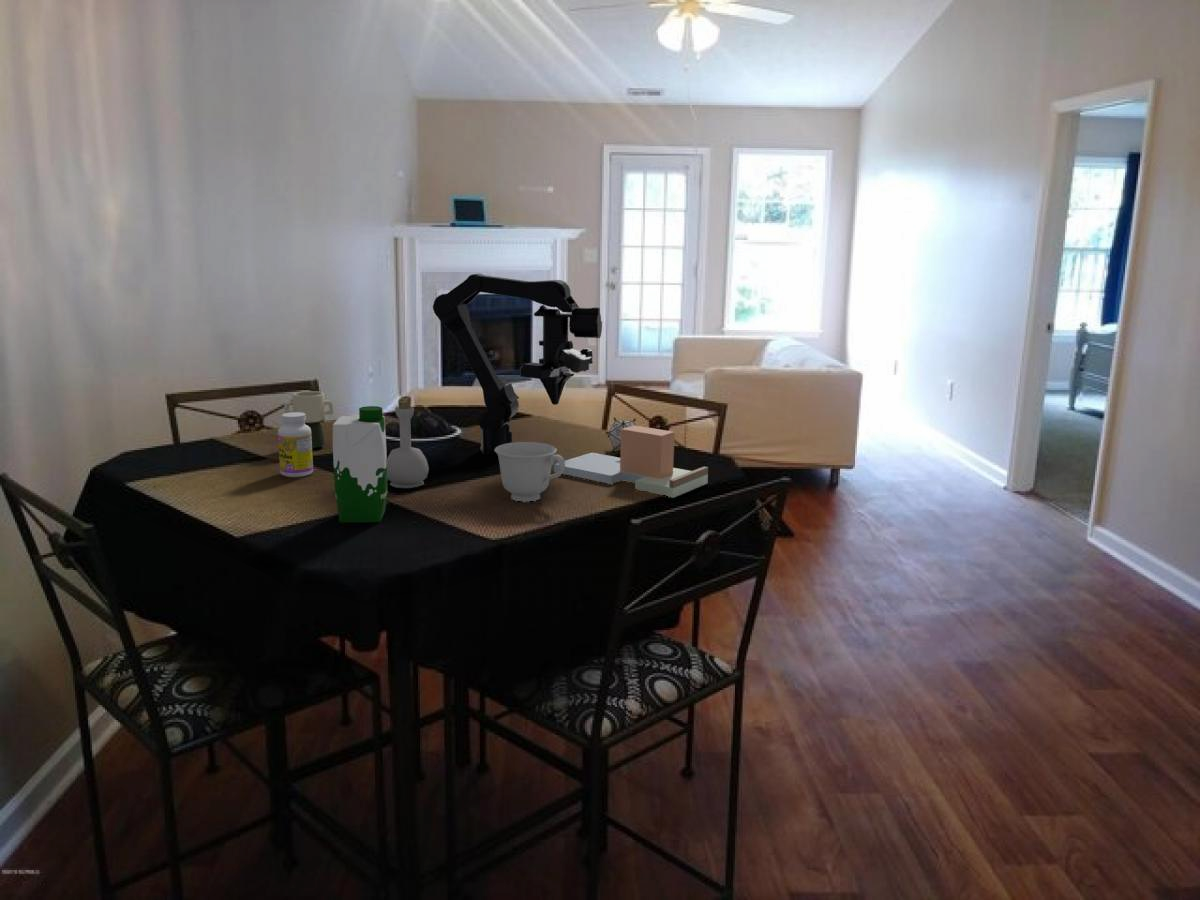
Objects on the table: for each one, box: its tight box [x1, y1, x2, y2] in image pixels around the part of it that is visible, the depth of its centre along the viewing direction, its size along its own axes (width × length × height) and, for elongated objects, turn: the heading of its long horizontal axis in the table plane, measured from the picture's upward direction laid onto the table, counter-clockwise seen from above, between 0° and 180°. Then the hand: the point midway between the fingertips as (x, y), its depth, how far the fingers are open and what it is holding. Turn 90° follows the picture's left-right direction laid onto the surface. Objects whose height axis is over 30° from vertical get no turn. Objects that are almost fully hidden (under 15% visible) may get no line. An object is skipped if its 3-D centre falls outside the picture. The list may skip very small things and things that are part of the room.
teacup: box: [495, 441, 565, 503], centre depth 180 cm, size 12×15×10 cm
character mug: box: [283, 390, 334, 449], centre depth 218 cm, size 11×7×13 cm, turn 103°
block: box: [619, 424, 676, 479], centre depth 194 cm, size 10×5×9 cm, turn 55°
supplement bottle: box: [277, 412, 314, 478], centre depth 195 cm, size 7×7×13 cm
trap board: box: [553, 452, 709, 499], centre depth 198 cm, size 30×14×4 cm, turn 55°
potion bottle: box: [387, 395, 430, 489], centre depth 188 cm, size 9×9×18 cm
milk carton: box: [332, 405, 388, 524], centre depth 166 cm, size 9×9×20 cm
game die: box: [605, 416, 637, 451], centre depth 221 cm, size 9×8×10 cm
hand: (555, 404), depth 214 cm, fingers closed
